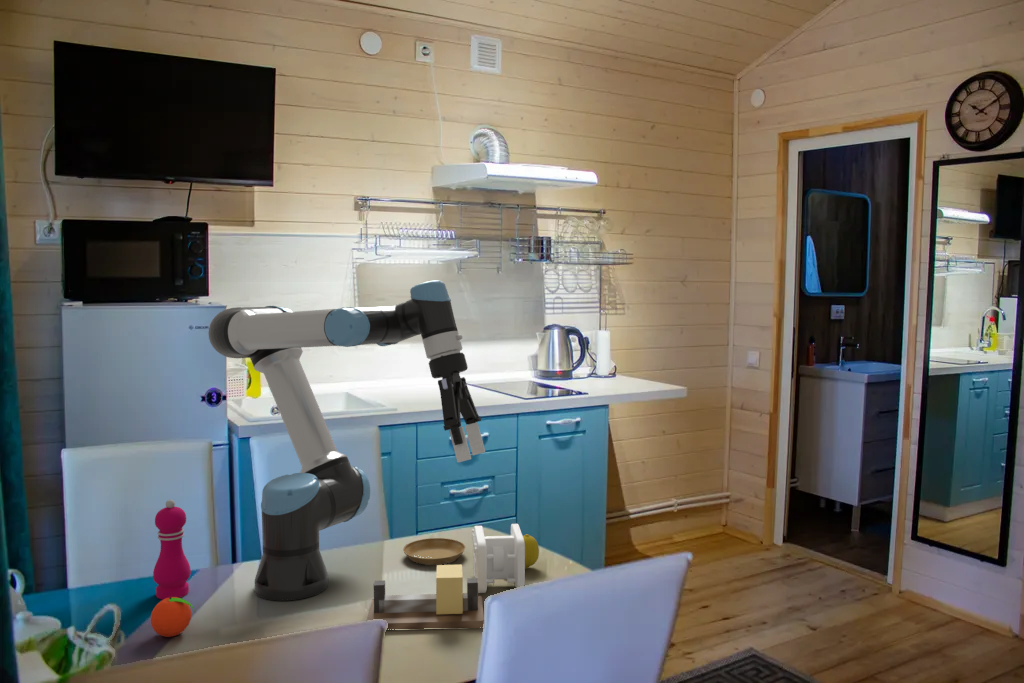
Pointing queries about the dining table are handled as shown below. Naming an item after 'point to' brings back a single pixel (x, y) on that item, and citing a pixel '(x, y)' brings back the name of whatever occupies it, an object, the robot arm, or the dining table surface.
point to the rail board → (430, 619)
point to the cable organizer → (498, 557)
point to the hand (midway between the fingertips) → (472, 457)
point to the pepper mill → (171, 553)
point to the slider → (449, 589)
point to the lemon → (530, 550)
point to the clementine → (171, 616)
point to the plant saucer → (434, 550)
